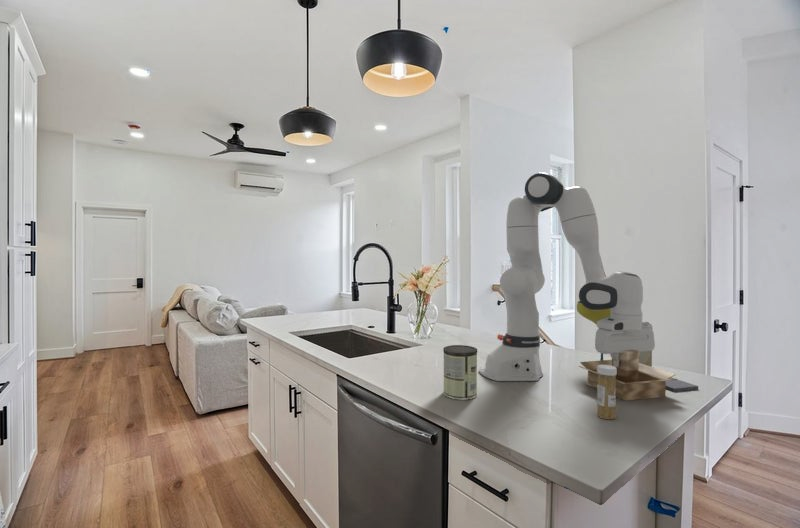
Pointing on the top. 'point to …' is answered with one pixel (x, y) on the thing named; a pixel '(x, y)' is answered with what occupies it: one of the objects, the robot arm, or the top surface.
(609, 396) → the sprinkles bottle
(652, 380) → the carton
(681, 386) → the mat
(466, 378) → the coffee can
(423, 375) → the top surface
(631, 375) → the block
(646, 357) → the box
